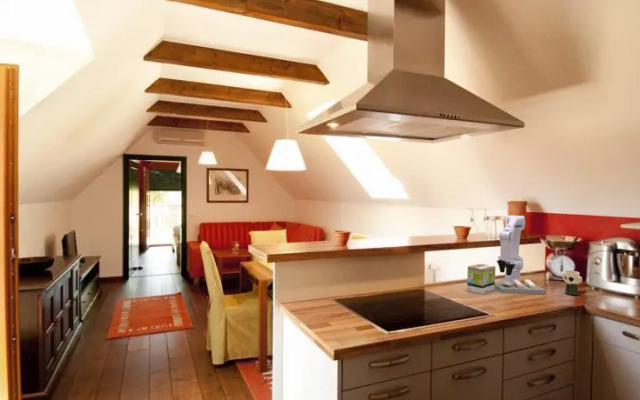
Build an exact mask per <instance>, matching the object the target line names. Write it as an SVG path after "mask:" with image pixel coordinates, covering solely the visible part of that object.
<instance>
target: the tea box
mask: <svg viewBox="0 0 640 400" xmlns="http://www.w3.org/2000/svg"><path fill="white" fill-rule="evenodd" d="M466 275H467V277H466V291H467V292H471V293H475V294H479V295H484V294H488V293H489V292H493V291H495V290H496V289H495V283H496V266H495V265H489V264H483V263H477V264H473V265H469V266H468V265H467V273H466Z"/></svg>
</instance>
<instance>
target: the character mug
mask: <svg viewBox="0 0 640 400" xmlns="http://www.w3.org/2000/svg"><path fill="white" fill-rule="evenodd" d="M561 278H562V279H563V281H564V282H565V283H566V284H565V285H566V286H565V290H564V292H565V294H568V295H570V296H572V295H573V296H576V295H579V289H578V284H581V283H583V278H582V276H580V272H579V271H577V270H576V271H575V270H564V272H563V273H562V277H561Z"/></svg>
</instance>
